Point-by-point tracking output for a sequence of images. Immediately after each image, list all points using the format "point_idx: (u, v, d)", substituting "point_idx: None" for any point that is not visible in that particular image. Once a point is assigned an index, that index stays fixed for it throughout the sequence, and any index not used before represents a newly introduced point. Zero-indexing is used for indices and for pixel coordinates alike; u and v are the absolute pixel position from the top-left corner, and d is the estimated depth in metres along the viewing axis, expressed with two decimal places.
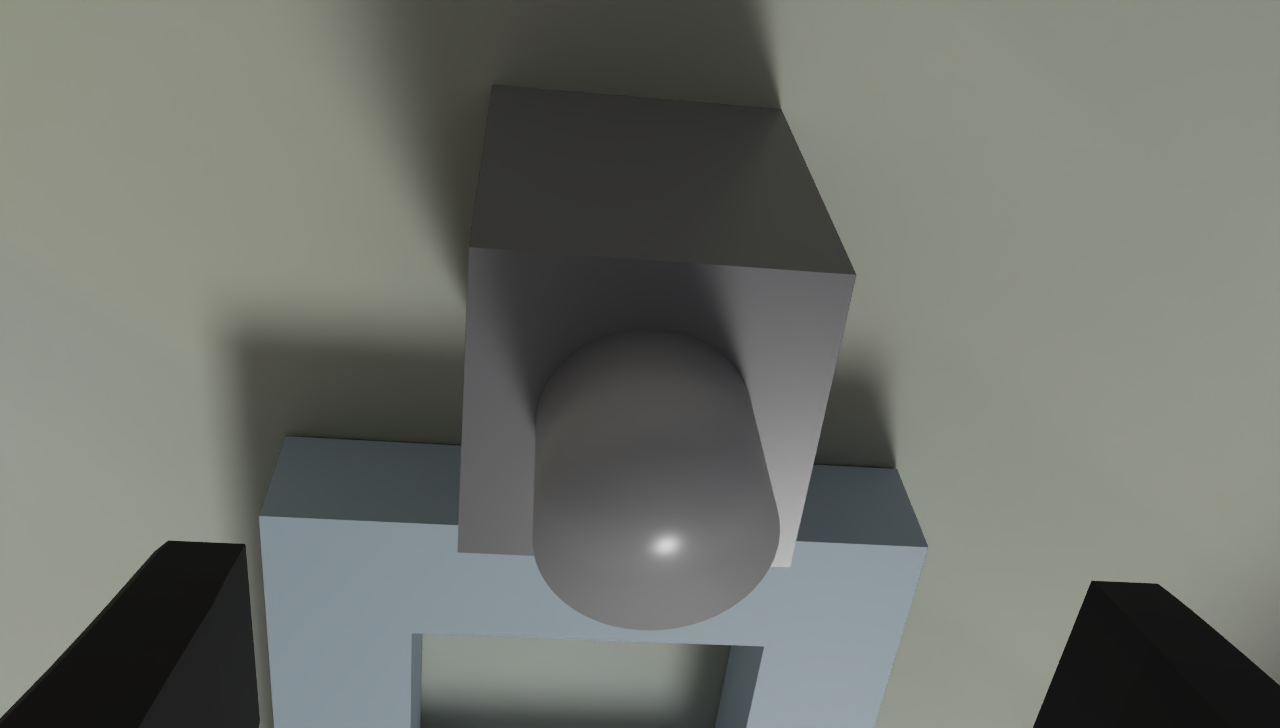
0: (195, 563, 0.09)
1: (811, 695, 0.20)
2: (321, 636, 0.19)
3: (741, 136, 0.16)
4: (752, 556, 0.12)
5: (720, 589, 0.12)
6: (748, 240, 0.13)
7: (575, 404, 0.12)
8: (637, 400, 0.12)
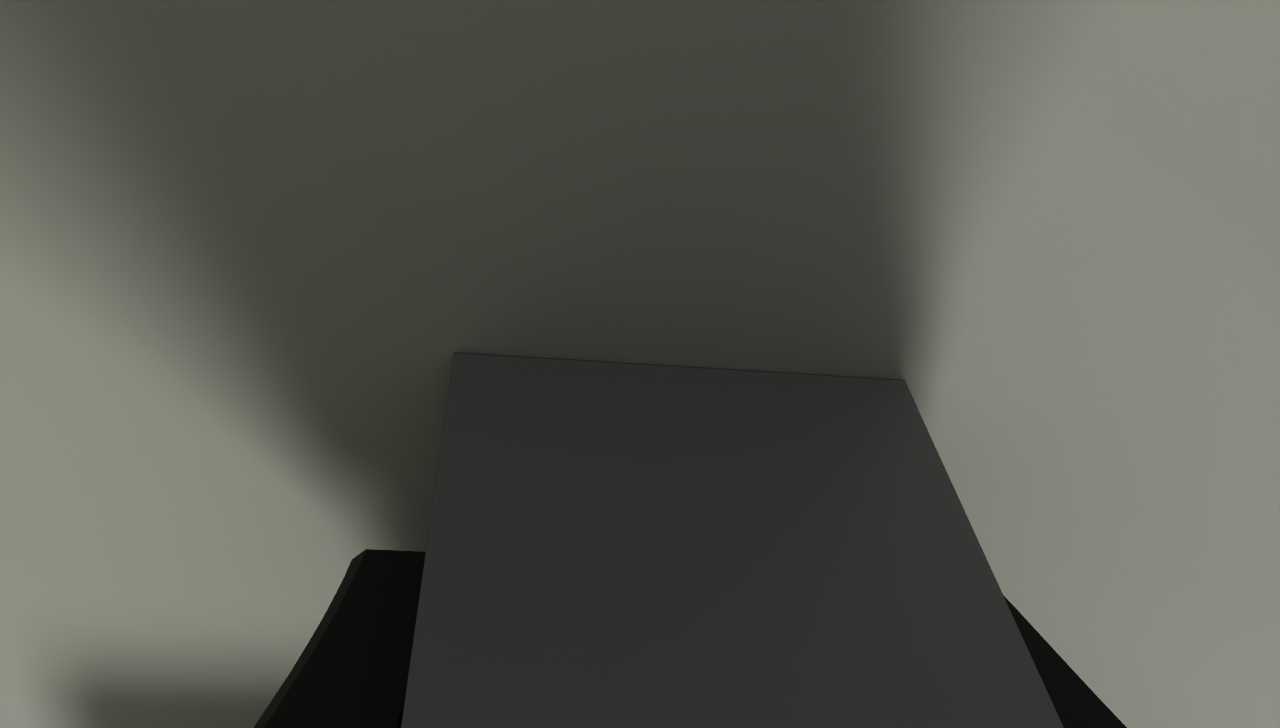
0: (399, 572, 0.09)
1: None
2: None
3: (853, 454, 0.10)
4: None
5: None
6: None
7: None
8: None
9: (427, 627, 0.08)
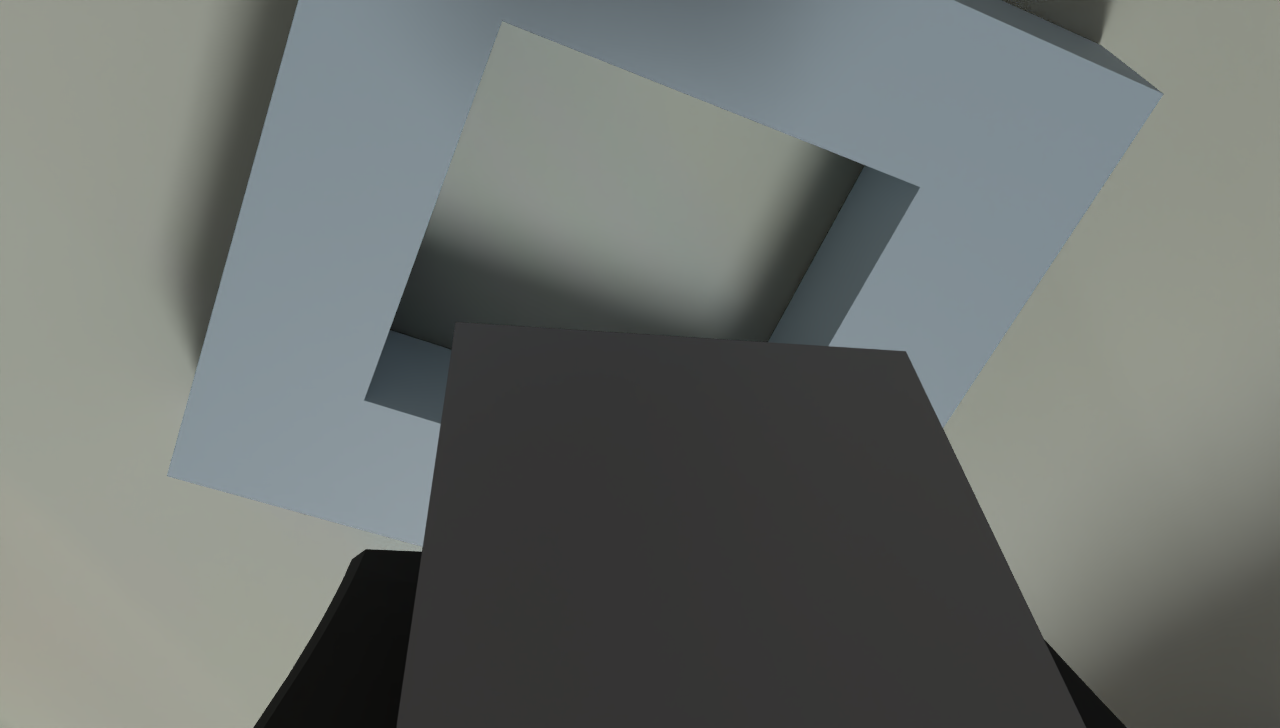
0: (399, 571, 0.09)
1: (943, 282, 0.16)
2: None
3: (855, 421, 0.10)
4: None
5: None
6: (914, 727, 0.07)
7: None
8: None
9: (429, 584, 0.08)
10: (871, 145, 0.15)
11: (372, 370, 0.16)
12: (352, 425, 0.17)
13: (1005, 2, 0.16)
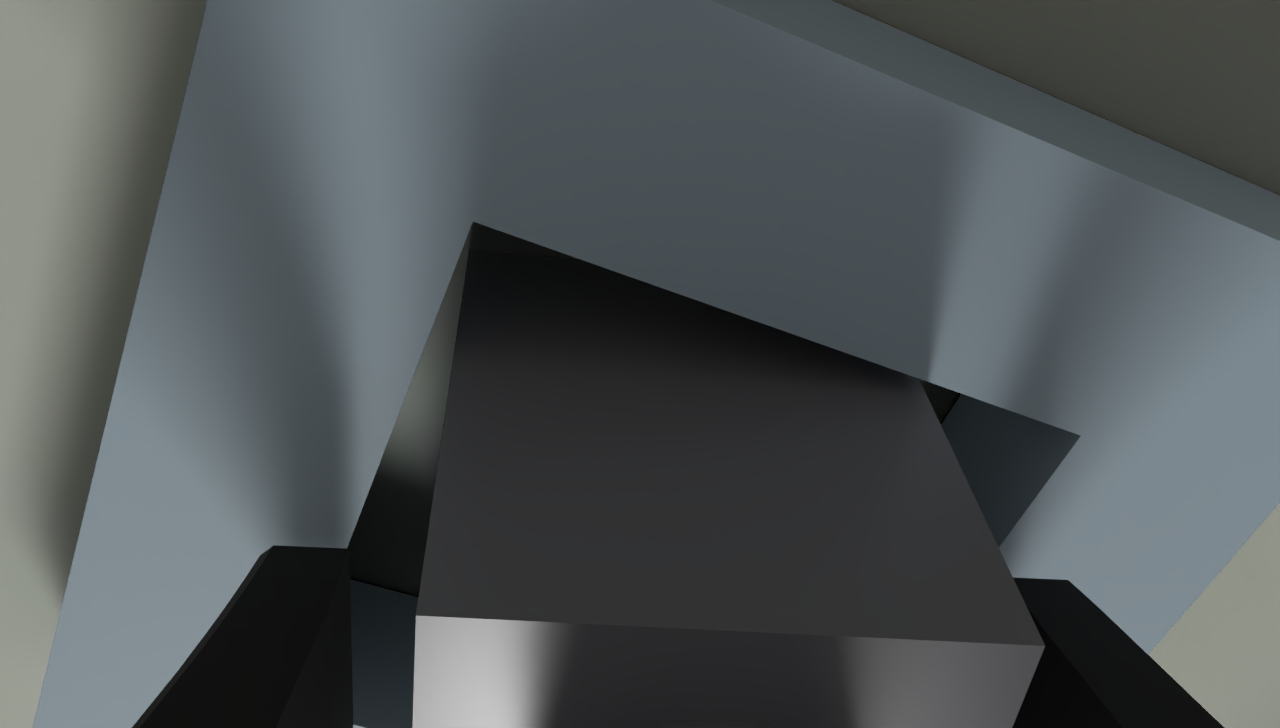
0: (303, 567, 0.09)
1: (1102, 554, 0.11)
2: (287, 175, 0.09)
3: None
4: None
5: None
6: (865, 570, 0.08)
7: None
8: None
9: (449, 453, 0.09)
10: (1015, 383, 0.10)
11: None
12: None
13: (1190, 157, 0.11)
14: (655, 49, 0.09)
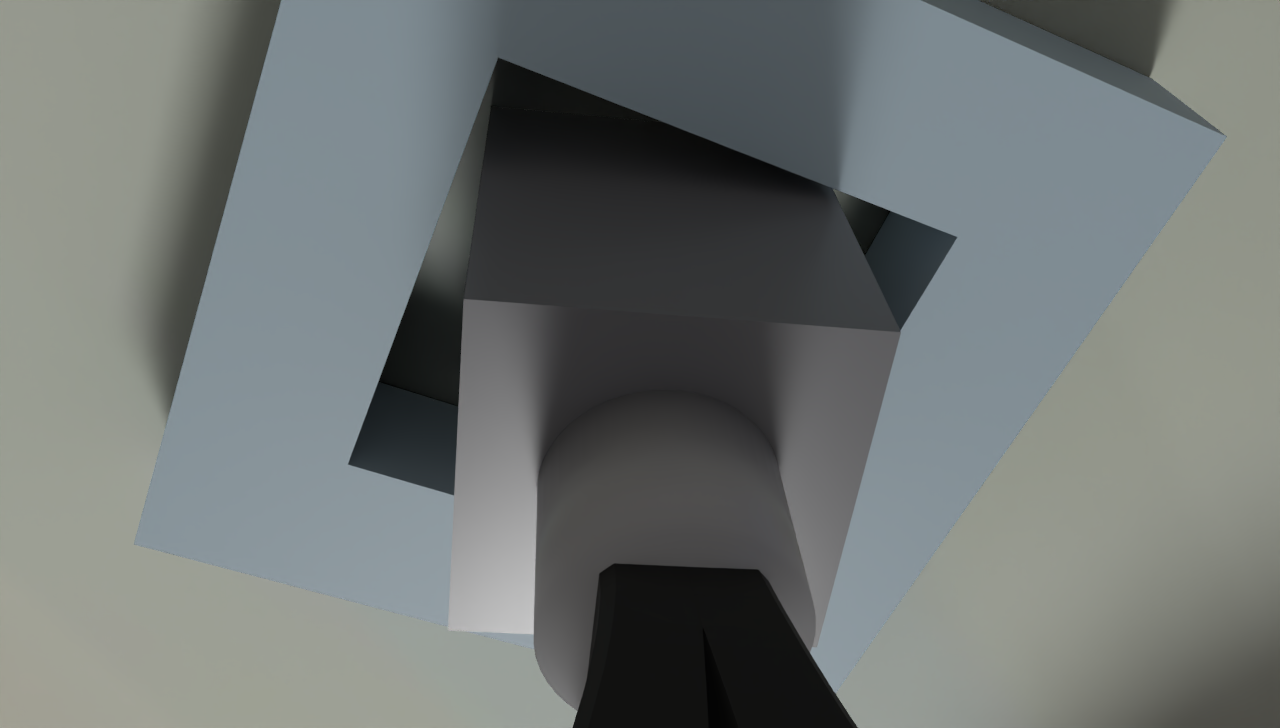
0: (656, 583, 0.09)
1: (980, 338, 0.15)
2: (364, 20, 0.12)
3: (764, 165, 0.14)
4: None
5: None
6: (779, 289, 0.11)
7: (583, 479, 0.10)
8: (655, 478, 0.10)
9: (482, 220, 0.12)
10: (904, 192, 0.14)
11: (356, 432, 0.15)
12: (335, 490, 0.15)
13: (1049, 32, 0.15)
14: None
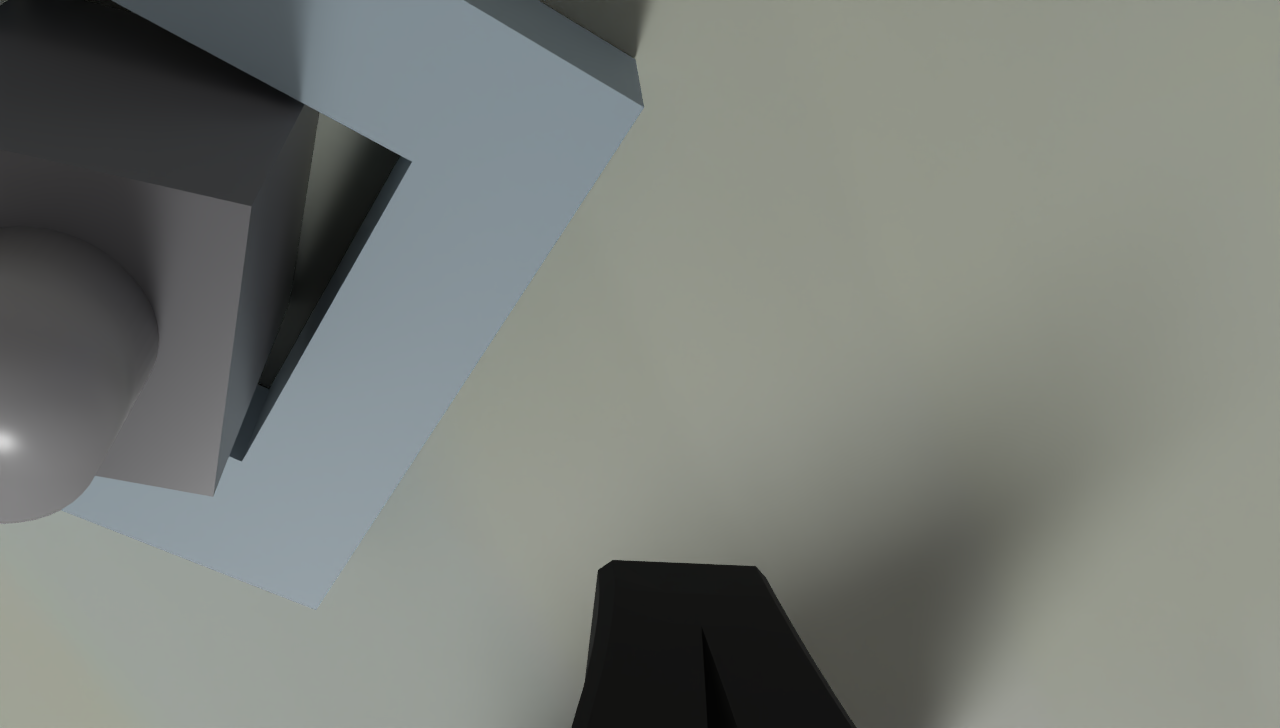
0: (655, 582, 0.09)
1: (440, 259, 0.16)
2: None
3: None
4: (75, 458, 0.12)
5: (47, 488, 0.12)
6: (165, 159, 0.13)
7: None
8: None
9: None
10: (360, 112, 0.15)
11: None
12: None
13: (539, 2, 0.17)
14: None
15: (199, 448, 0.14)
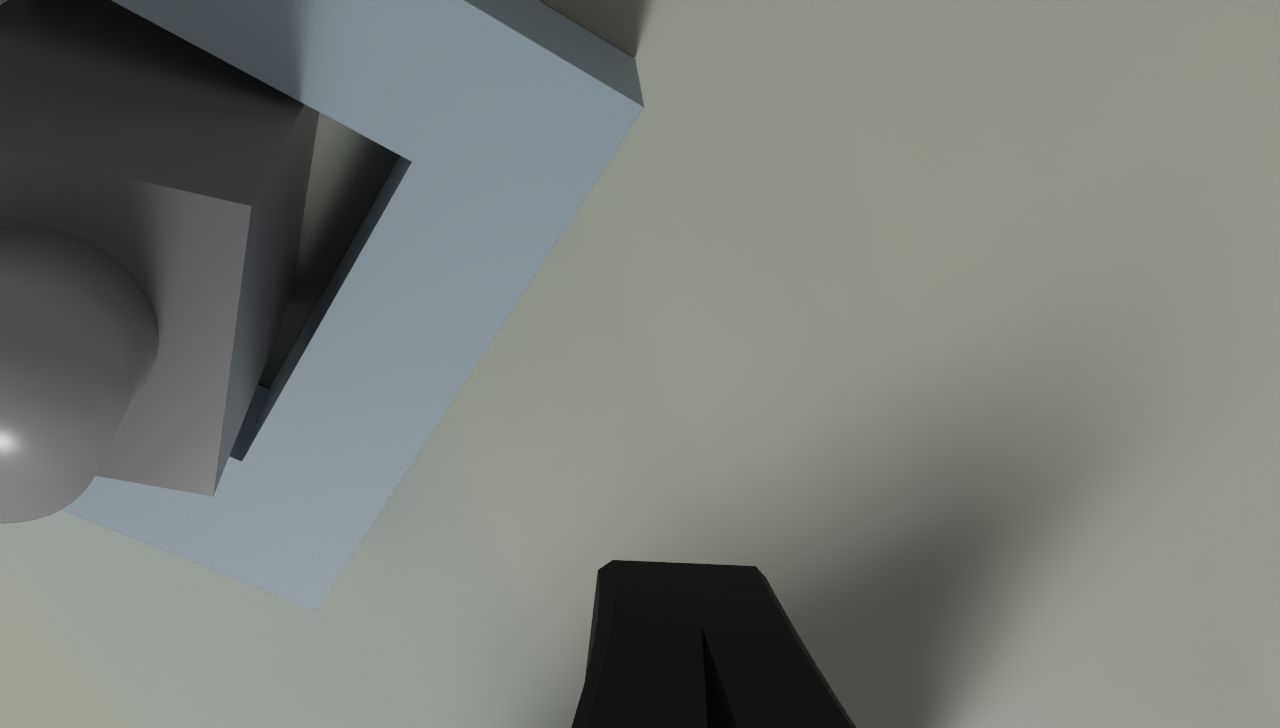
0: (655, 582, 0.09)
1: (440, 259, 0.16)
2: None
3: None
4: (75, 458, 0.12)
5: (47, 488, 0.12)
6: (164, 159, 0.13)
7: None
8: None
9: None
10: (360, 112, 0.15)
11: None
12: None
13: (539, 2, 0.17)
14: None
15: (199, 448, 0.14)
